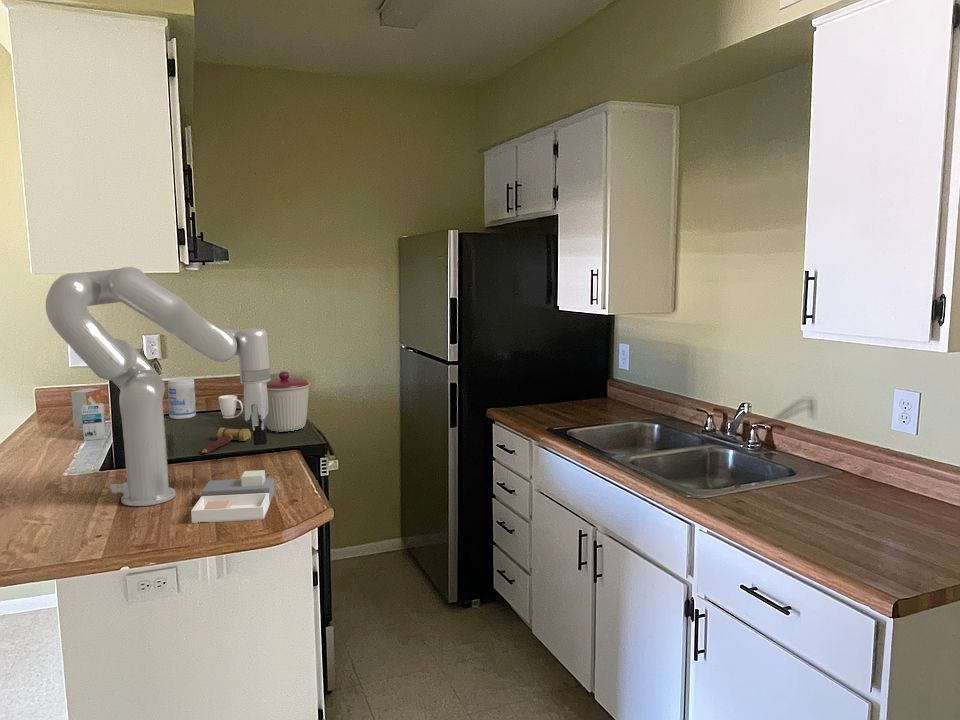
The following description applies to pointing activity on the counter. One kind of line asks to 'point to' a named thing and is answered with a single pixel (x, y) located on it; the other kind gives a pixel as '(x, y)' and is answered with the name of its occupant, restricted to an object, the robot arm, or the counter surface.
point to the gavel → (228, 437)
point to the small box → (83, 402)
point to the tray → (232, 508)
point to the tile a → (217, 505)
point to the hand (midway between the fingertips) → (260, 443)
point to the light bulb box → (93, 421)
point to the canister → (287, 403)
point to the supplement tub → (181, 398)
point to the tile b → (253, 478)
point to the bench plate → (237, 488)
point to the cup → (229, 405)
